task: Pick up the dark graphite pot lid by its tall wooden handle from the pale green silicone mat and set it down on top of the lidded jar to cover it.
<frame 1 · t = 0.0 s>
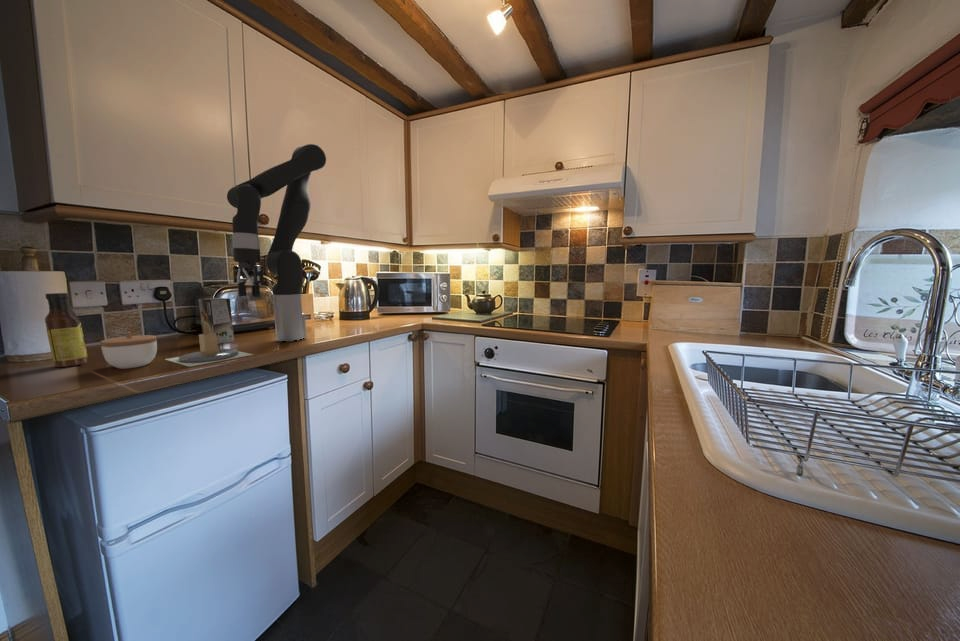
hand: (249, 296, 118), 17 cm above the worktop, tool pointing down, fingers open, 8 cm apart
lidded jar: (133, 367, 94), on the worktop
lid: (210, 356, 104), resting on mat
sauce bottle: (71, 365, 96), on the worktop
coffee box: (218, 342, 127), on the worktop
mat: (210, 358, 104), on the worktop
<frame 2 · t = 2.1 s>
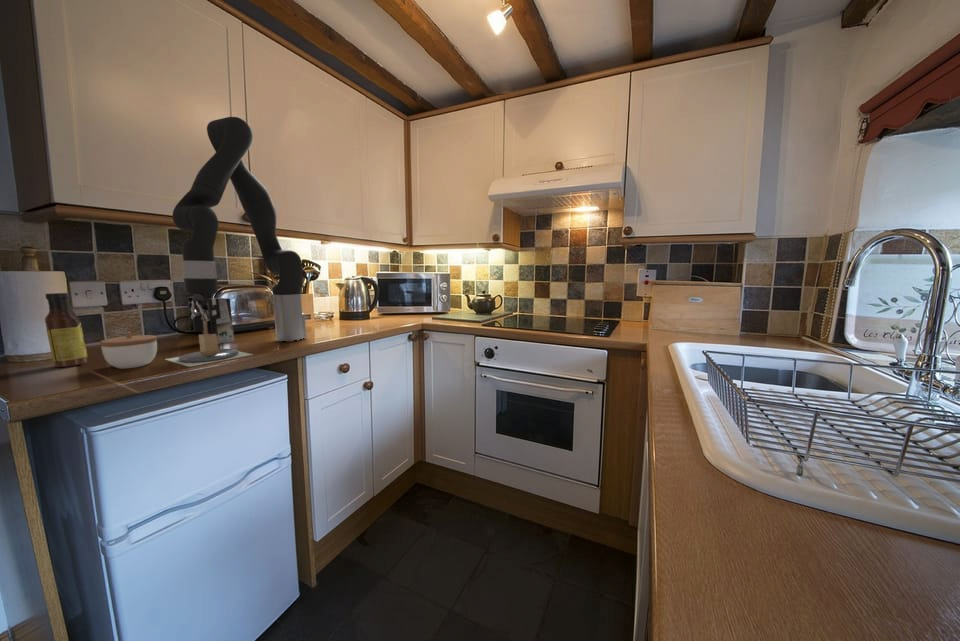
hand: (205, 332, 102), 8 cm above the worktop, tool pointing down, fingers open, 8 cm apart
nothing on the worktop moved.
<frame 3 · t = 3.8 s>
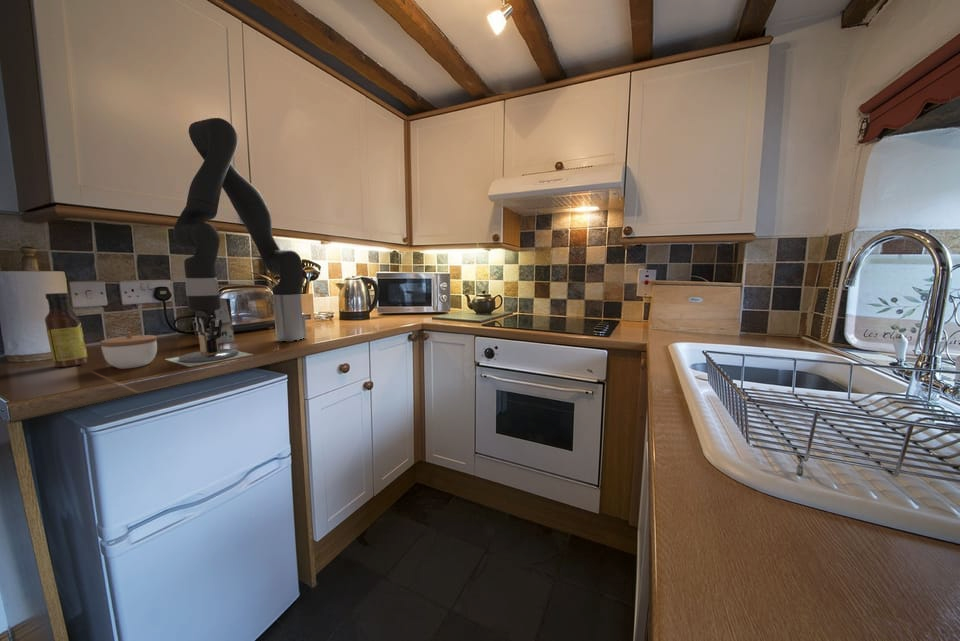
hand: (209, 351, 103), 2 cm above the worktop, tool pointing down, fingers closed on lid, 3 cm apart
lid: (210, 356, 104), resting on mat, touching gripper
everything else where it was.
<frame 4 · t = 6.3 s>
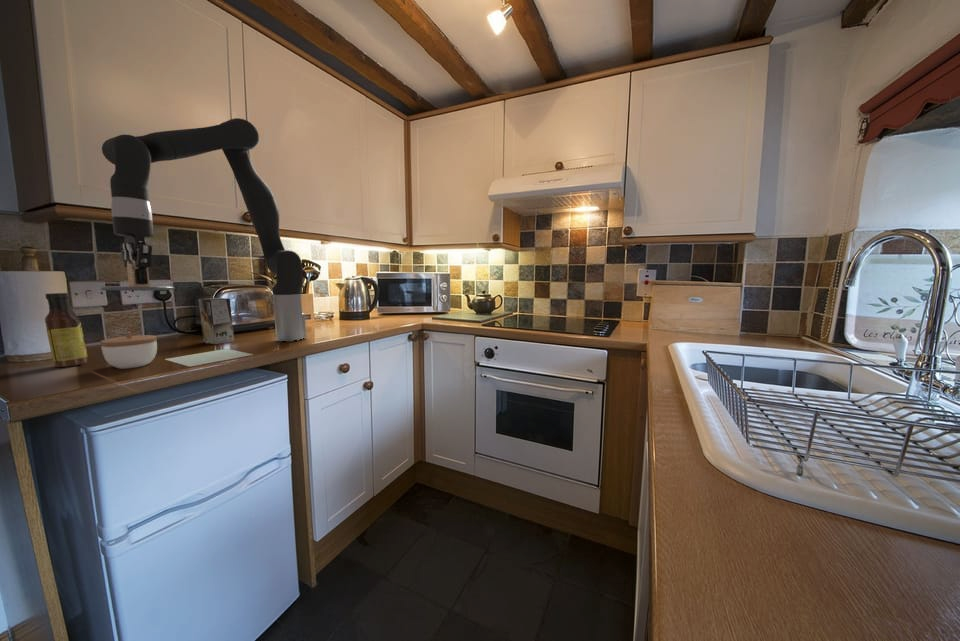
hand: (139, 283, 93), 22 cm above the worktop, tool pointing down, fingers closed on lid, 3 cm apart
lid: (139, 289, 93), point 21 cm above the worktop, touching gripper
everything else where it was.
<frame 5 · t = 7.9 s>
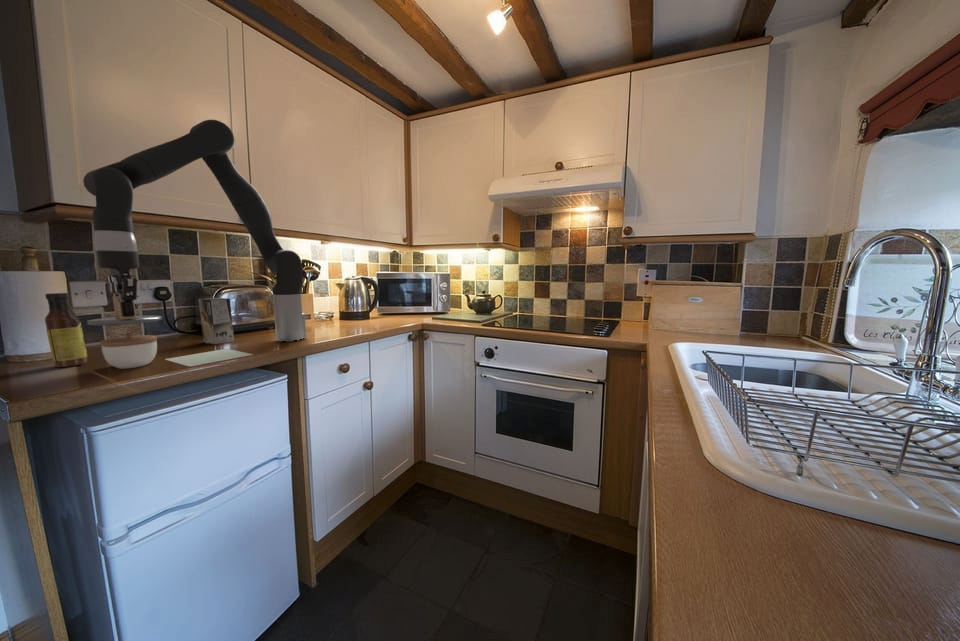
hand: (126, 315, 92), 14 cm above the worktop, tool pointing down, fingers closed on lid, 3 cm apart
lid: (126, 321, 93), point 12 cm above the worktop, touching gripper
everything else where it was.
when the fingers open (12 cm above the worktop, at t = 9.0 s): lid stays where it is, resting on lidded jar.
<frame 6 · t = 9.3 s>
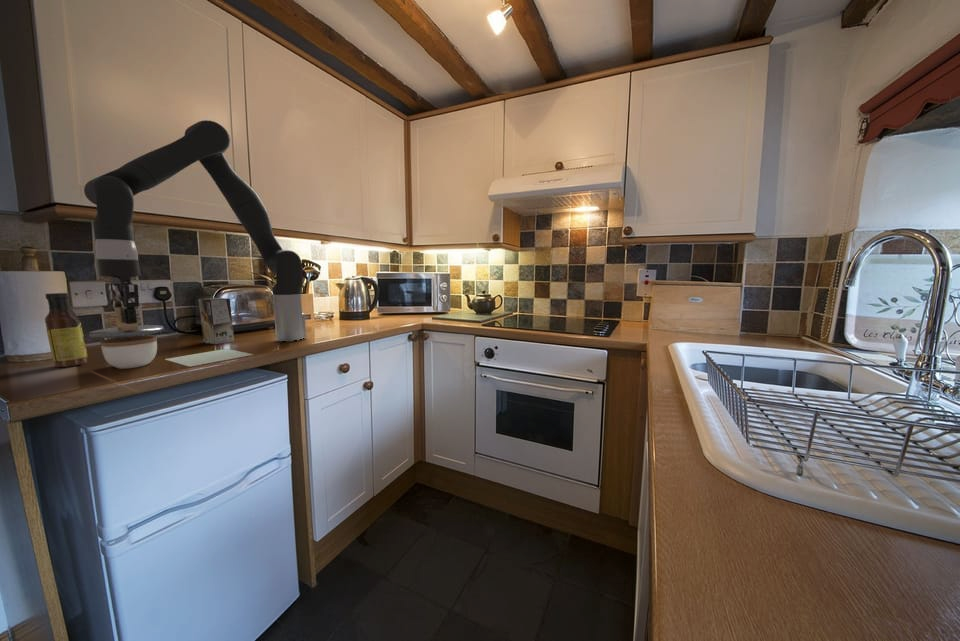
hand: (127, 322, 93), 12 cm above the worktop, tool pointing down, fingers open, 5 cm apart
lidded jar: (133, 367, 94), on the worktop, touching lid
lid: (128, 332, 93), point 9 cm above the worktop, touching lidded jar
everything else where it was.
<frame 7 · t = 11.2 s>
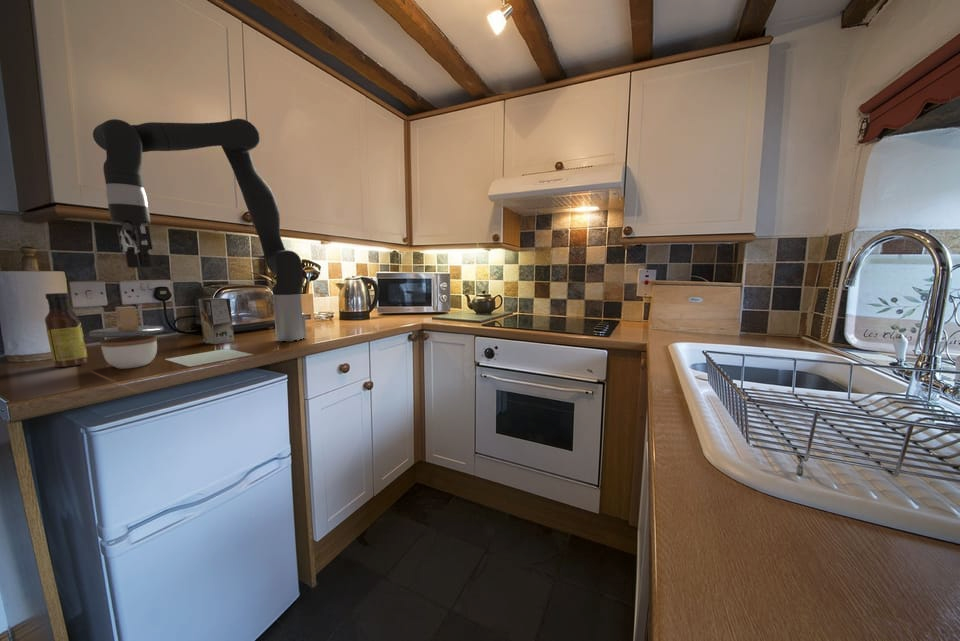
hand: (139, 267, 94), 27 cm above the worktop, tool pointing down, fingers open, 8 cm apart
nothing on the worktop moved.
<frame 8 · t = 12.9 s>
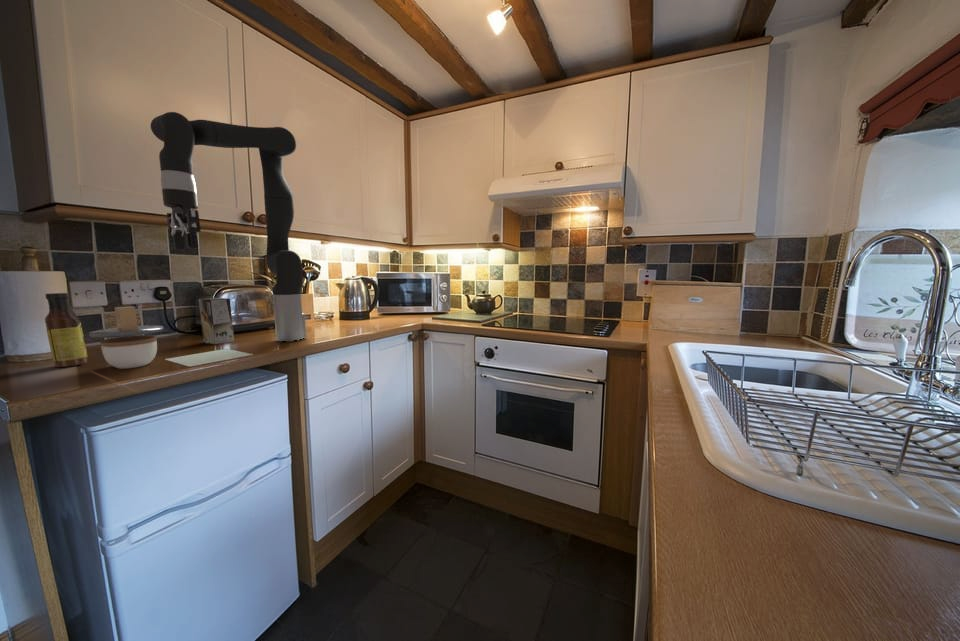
hand: (186, 248, 101), 32 cm above the worktop, tool pointing down, fingers open, 8 cm apart
nothing on the worktop moved.
at the end: lid inside the target area on the lidded jar (0.0 cm from its centre), point 9.6 cm above the lidded jar's base; lid tilted 1°; the gripper is holding nothing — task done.
